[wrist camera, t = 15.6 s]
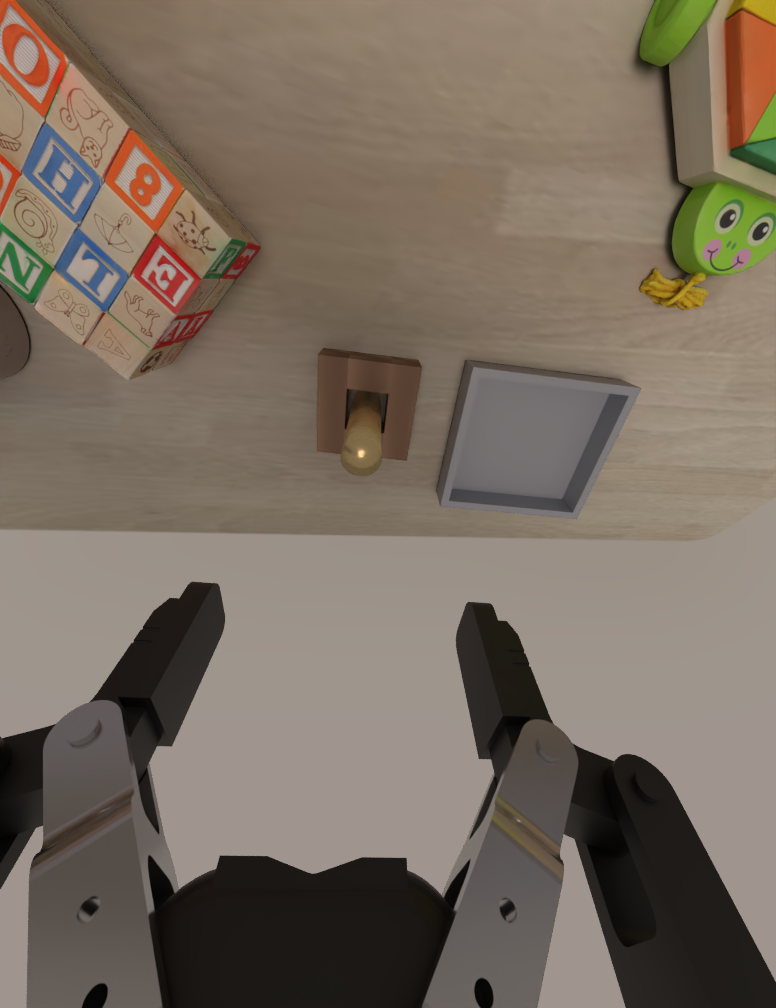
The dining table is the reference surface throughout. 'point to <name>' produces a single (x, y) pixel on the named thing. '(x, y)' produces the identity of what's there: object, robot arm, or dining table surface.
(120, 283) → the stack of blocks
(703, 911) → the robot arm
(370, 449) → the pin
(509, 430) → the pin tray
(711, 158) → the wooden turtle toy
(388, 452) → the pin base
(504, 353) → the dining table surface
